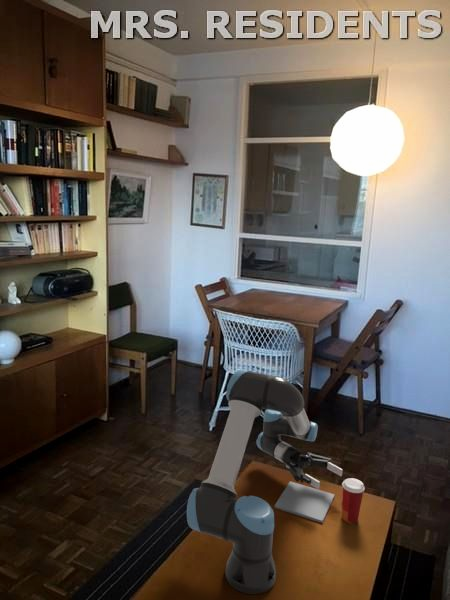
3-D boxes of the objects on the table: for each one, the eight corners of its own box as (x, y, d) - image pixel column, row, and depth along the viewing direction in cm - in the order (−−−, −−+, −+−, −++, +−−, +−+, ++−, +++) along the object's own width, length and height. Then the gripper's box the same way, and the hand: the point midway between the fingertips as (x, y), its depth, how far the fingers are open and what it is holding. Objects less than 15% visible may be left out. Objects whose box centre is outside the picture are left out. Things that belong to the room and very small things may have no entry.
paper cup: (363, 516, 178) (367, 482, 175) (356, 528, 171) (361, 492, 168) (342, 508, 182) (346, 474, 179) (335, 519, 175) (339, 484, 172)
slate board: (322, 523, 173) (322, 520, 173) (274, 507, 180) (274, 505, 180) (334, 496, 189) (334, 494, 189) (289, 483, 196) (289, 481, 196)
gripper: (307, 453, 206) (349, 476, 191) (265, 473, 190) (307, 500, 175) (309, 437, 205) (351, 459, 189) (267, 455, 189) (309, 481, 173)
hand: (330, 479), depth 182 cm, fingers open, 13 cm apart
